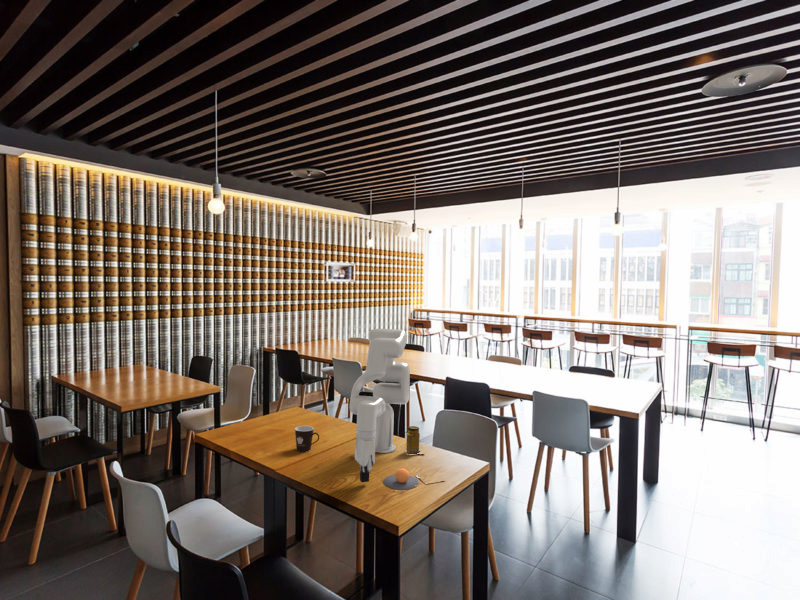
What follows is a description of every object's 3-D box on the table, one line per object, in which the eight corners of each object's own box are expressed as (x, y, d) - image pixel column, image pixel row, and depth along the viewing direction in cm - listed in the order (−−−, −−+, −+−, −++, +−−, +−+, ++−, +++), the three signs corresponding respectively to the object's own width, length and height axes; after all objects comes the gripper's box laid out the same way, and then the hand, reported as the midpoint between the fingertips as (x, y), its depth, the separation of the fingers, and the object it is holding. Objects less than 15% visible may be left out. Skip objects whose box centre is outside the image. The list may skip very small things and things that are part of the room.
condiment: (404, 450, 207) (405, 425, 207) (422, 450, 208) (423, 425, 208) (406, 455, 200) (407, 429, 200) (424, 455, 201) (425, 429, 201)
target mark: (377, 477, 174) (377, 477, 174) (408, 472, 180) (408, 472, 180) (392, 492, 161) (392, 491, 161) (425, 486, 167) (425, 485, 167)
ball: (396, 482, 172) (390, 472, 170) (406, 473, 174) (400, 463, 173) (403, 488, 167) (397, 478, 166) (414, 478, 170) (408, 468, 168)
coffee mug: (290, 449, 203) (291, 427, 203) (306, 445, 209) (307, 424, 209) (304, 456, 194) (305, 434, 194) (320, 452, 200) (321, 430, 200)
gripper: (350, 429, 172) (348, 475, 172) (364, 440, 158) (362, 490, 158) (368, 427, 175) (366, 472, 175) (382, 438, 161) (381, 487, 161)
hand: (364, 481), depth 166 cm, fingers closed
